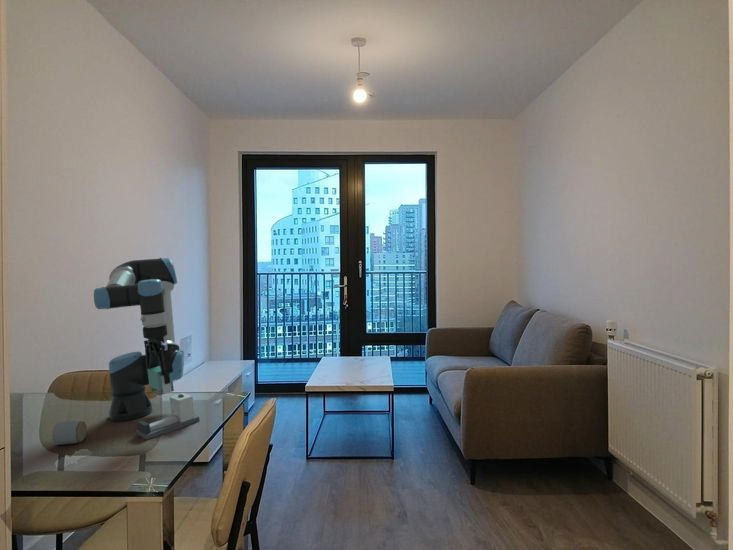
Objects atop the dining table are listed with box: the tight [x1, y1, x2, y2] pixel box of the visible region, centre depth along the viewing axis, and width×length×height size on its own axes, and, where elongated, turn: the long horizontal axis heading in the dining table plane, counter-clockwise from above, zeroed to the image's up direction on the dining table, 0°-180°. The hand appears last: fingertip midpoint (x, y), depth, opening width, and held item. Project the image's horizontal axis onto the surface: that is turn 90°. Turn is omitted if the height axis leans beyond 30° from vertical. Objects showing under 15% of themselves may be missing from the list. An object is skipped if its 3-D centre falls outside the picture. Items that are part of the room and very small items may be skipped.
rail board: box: [135, 392, 200, 440], centre depth 172 cm, size 19×8×10 cm, turn 138°
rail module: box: [148, 366, 175, 396], centre depth 168 cm, size 5×7×8 cm
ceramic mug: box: [51, 420, 88, 446], centre depth 166 cm, size 11×8×8 cm
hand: (161, 390), depth 168 cm, fingers closed on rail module, 7 cm apart
